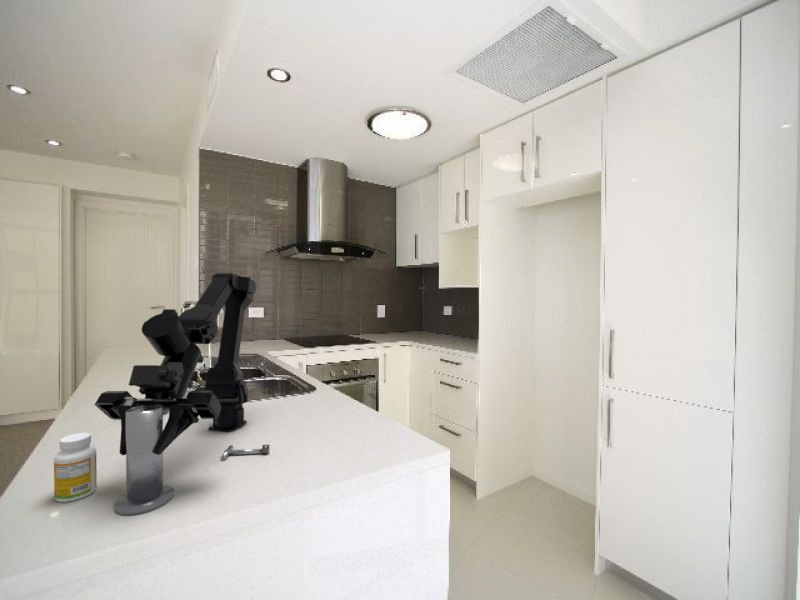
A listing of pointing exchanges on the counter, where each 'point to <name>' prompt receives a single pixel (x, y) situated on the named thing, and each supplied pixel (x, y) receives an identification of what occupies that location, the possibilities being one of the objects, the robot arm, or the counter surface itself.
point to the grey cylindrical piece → (143, 452)
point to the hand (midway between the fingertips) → (139, 454)
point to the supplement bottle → (75, 468)
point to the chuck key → (245, 451)
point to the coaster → (143, 503)
